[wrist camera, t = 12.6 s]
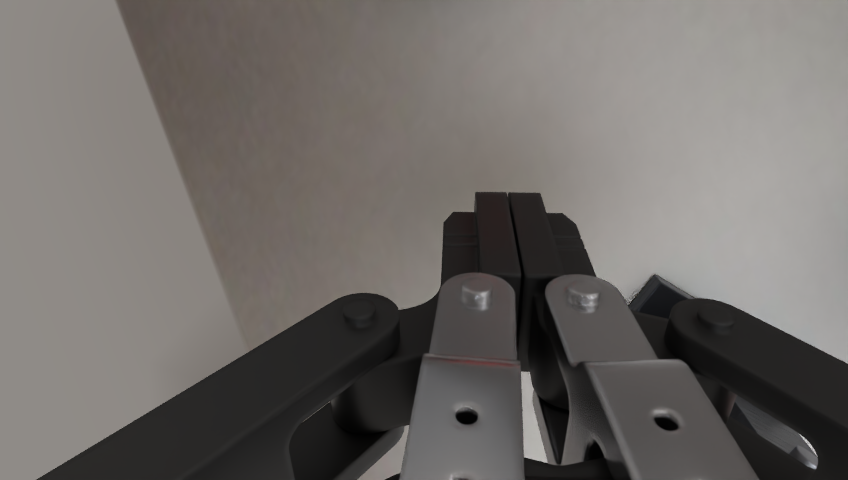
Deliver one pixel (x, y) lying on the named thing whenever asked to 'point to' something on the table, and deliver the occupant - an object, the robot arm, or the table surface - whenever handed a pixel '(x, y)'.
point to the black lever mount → (659, 303)
